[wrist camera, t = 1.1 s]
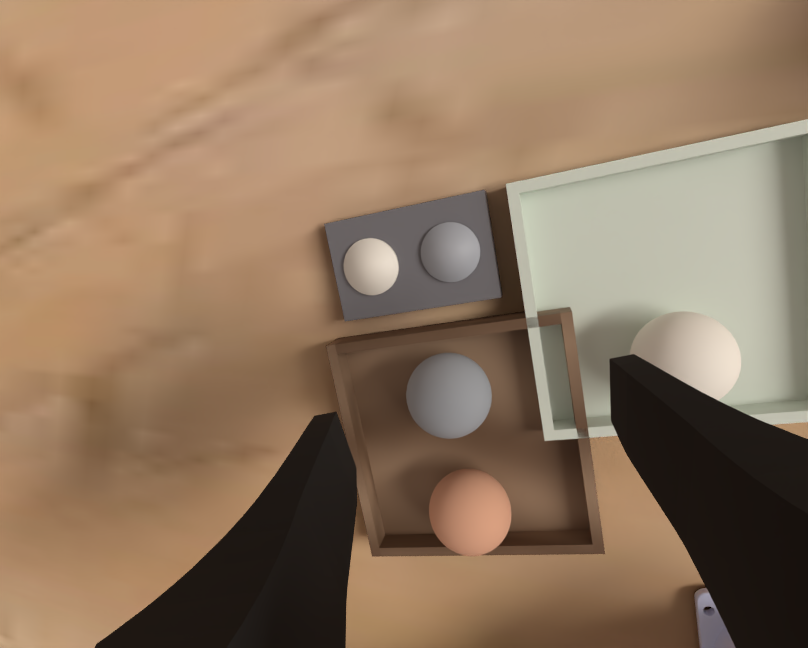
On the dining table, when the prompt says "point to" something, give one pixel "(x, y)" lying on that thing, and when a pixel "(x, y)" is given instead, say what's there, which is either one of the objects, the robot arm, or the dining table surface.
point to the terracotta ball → (470, 512)
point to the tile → (415, 257)
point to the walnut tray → (466, 438)
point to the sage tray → (671, 266)
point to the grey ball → (449, 395)
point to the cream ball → (691, 351)
